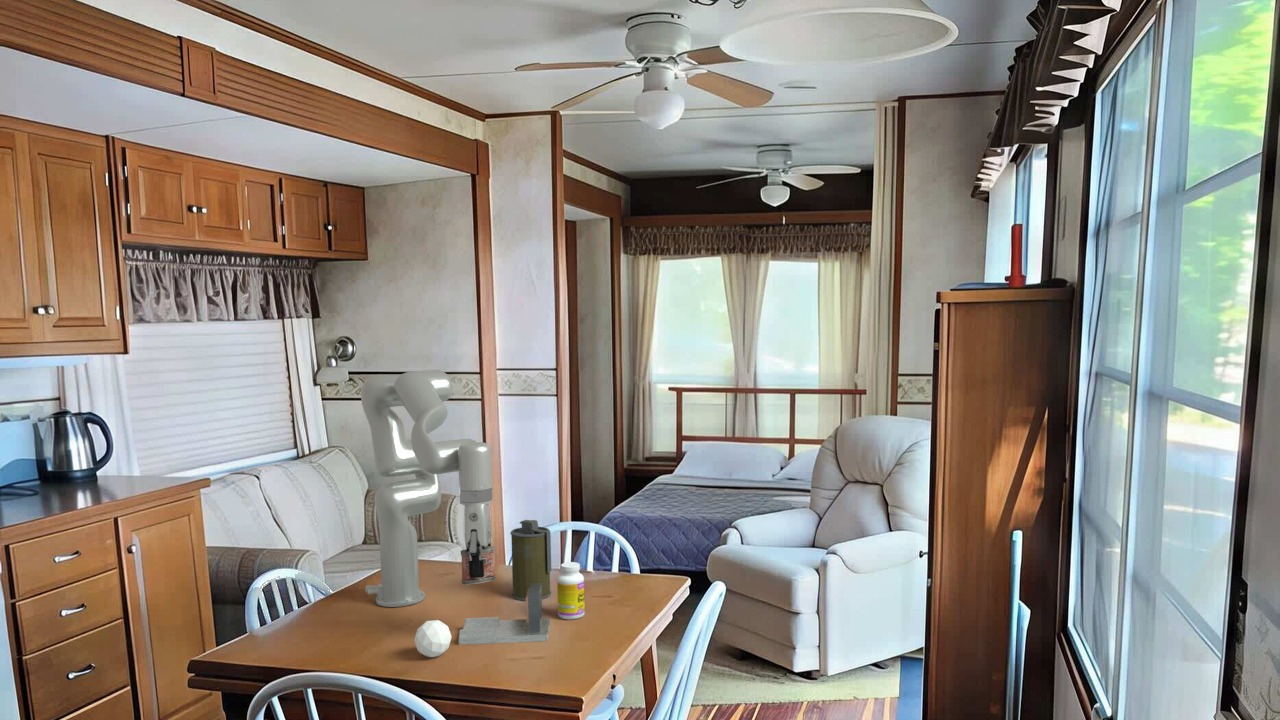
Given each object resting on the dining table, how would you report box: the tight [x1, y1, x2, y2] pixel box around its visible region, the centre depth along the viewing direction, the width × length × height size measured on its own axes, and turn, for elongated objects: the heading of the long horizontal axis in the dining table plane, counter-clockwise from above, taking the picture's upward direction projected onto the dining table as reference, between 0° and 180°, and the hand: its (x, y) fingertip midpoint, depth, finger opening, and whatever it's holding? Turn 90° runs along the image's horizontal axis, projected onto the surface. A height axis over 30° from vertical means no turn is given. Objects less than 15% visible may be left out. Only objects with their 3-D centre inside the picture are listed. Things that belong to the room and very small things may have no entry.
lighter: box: [460, 537, 497, 586], centre depth 193 cm, size 8×3×10 cm, turn 117°
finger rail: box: [458, 583, 551, 646], centre depth 194 cm, size 20×11×10 cm, turn 93°
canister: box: [509, 519, 552, 602], centre depth 223 cm, size 11×10×20 cm
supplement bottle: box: [556, 561, 586, 621], centre depth 206 cm, size 7×7×13 cm
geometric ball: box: [414, 619, 453, 658], centre depth 182 cm, size 8×8×8 cm
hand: (478, 573), depth 193 cm, fingers closed on lighter, 4 cm apart
